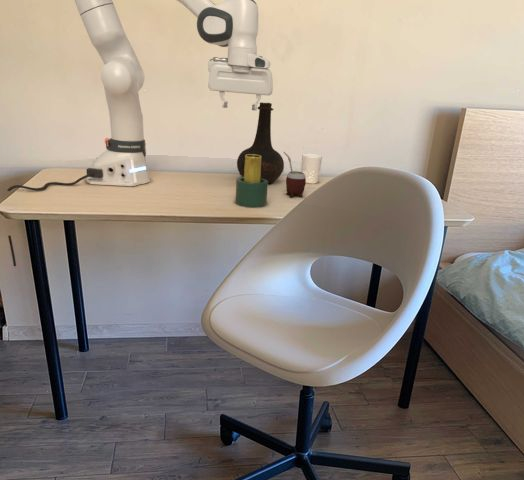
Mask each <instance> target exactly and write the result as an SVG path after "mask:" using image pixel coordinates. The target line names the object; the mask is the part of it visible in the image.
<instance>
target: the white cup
mask: <svg viewBox="0 0 524 480" xmlns="http://www.w3.org/2000/svg"><path fill="white" fill-rule="evenodd" d="M322 162H323V155H321V154H316V153H303V154H301V171H300V172H302V173H304V174H305V177H306V184H311V185H312V184H317V183H319V177H320V172H321V168H322Z"/></svg>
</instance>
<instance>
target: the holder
mask: <svg viewBox="0 0 524 480" xmlns="http://www.w3.org/2000/svg"><path fill="white" fill-rule="evenodd" d="M235 182H236V183H235V204H236V205H238V206H240V207H245V208H262V207H265V206H267V199H268V188H269V187H268V185H269V184H268V181H267V180H266V179H263V178H260V183H248V182H244V177H242V176H240V177H238V178H236V180H235Z"/></svg>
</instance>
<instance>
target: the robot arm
mask: <svg viewBox="0 0 524 480" xmlns="http://www.w3.org/2000/svg"><path fill="white" fill-rule="evenodd" d="M176 1H177V2H179V4H181V5H183V6H184V7H185V8H186V9H187V10H188V11H189V12H190V13H191V14H193V16H194V17H196V18H197V19H196V30H197V33H198V35H199V37H200V38H201V39H202V40H203V41H204V42H206V43H208V44H209V45H215V46H218V47H221V48H227V57H218V56H213V58H210V59H209V60H208V63H207V70H208V72H209V74H208V81H207V82H208V85H207V87H208V89H209V90H210V91H213V92H219V93H218V95H219V97H220V100H221V102H222V106H221V107H222V108H223V109H227V108H228V106H229V105H228V104H229V102H228V101H227V100H226V99H225V97H224V96H225V94H226V93H236V94H244V95H245V94H247V95H255V98H256V99H257V100H256V101H255V103H251V110H252V111H257V110H258V104H259V103H260V101H261V99H262V96H269V97H270V96H271V95H272V94H273V89H274V87H273V86H274V84H273V82H274V81H273V72H272V71H271V70H270V67H271V61H270V59H268V58H265V57H263V56H261V55H258V53H257V52H258V46H257V37H258V33H259V6H258V4H257V2H256V1H255V0H224V1H222V2H221V3H217V4H215V3H214V2H213V1H212V0H176ZM74 2H75V5H76V6H75V7H76V8H77V11H78V14H79V16H80V19H81V21H82V23H83V26H84V28H85V31H86V33H87V35H88V37H89V40H90V42H91V44H92V46H93V48H95V50H96V52H97V53H98V55H99V56H100V58H101V60H102V62H103V64H104V65H103V67H102V68H101V72H100V79H101V83H102V86H103V91H104V95H105V100H106V103H107V107H108V115H109V124H110V135H111V136H110V138H109V137H106V138H104V143H105V148H106V150H104V151H103V152H102V153H101V154H99V156H97V157H96V158H95V159H94V160H93V162H92V165H91V167H87V168H86V170H85V171H86V174H85V175H83V176H81V177H80V178H78V179H76V180H75V181H72V182H59V181H51V182H47V183H45V184H44V185H42V186H41V187H30V186H26V185H22V184H16V185H12V186H10V187H9V188H7V190H6V191H7V192H10V191H12V190H13V189H17V188H19V189H20V188H21V189H25V190H29V191H37V192H38V191H42V190H45V189H47V187H48V186H52V185H58V186H59V185H60V186H73V185H77V184H78V183H79V182H81V181H83V180H85V182H86V183H88V184H90V185H102V186H117V187H118V186H120V187H135V186H138V185H144V184H148V183H150V182H151V178H150V175H149V170H148V166H147V159H146V156H147V144H146V140H145V134H144V116H143V112H142V108H141V102H140V96H139V91H140V90H141V89H142V88H143V86H144V83H145V73H144V72H145V71H144V69H143V68H142V65H141V63H140V62H139V61H140V60H139V59H138V56H137V55H136V52H135V50H134V48H133V45H132V44H131V42H130V40H129V39H128V37H127V34H126V32H125V30H124V27H123V25H122V22H121V20H120V17H119V14H118V13H117V9H116V7H115V4H114V2H113V0H74ZM7 238H8V242H9V247H10V252H11V258H12V264H13V267H16V266H17V261H16V256H15V251H14V246H13V245H14V244H13V242H12V241H13V240H12V235H7Z"/></svg>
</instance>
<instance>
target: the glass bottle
mask: <svg viewBox="0 0 524 480" xmlns="http://www.w3.org/2000/svg"><path fill="white" fill-rule="evenodd" d="M272 105H273V103H271V102H259V106H257V110H259V111H258V120H257V125H256V126H257V127H256V132H255V137H254V139H253V140H254V141H253V142H252V145H251V146H250V147H248V148H245V149H244V150H242V151H241V152H240V154H239V155H238V157H237V160H236V168H237V171H238V173H239V175H240V177H244V168H245V155H246V154H256V155H260V156H261V178H263V179H266V180H267V181H268V185H269V184H273V183H274V182H275V181H277V180H278V179H279V178H280V176H281V175H282V174H283V172H284V169H285V161H284V158H283V156H282V155H281V154H280V153H279V151H277V150H275V148H274V147H273V145H272V133H271V132H272V131H271V130H272V129H271V127H272V126H271V125H272V111H274V108H273V106H272Z"/></svg>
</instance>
